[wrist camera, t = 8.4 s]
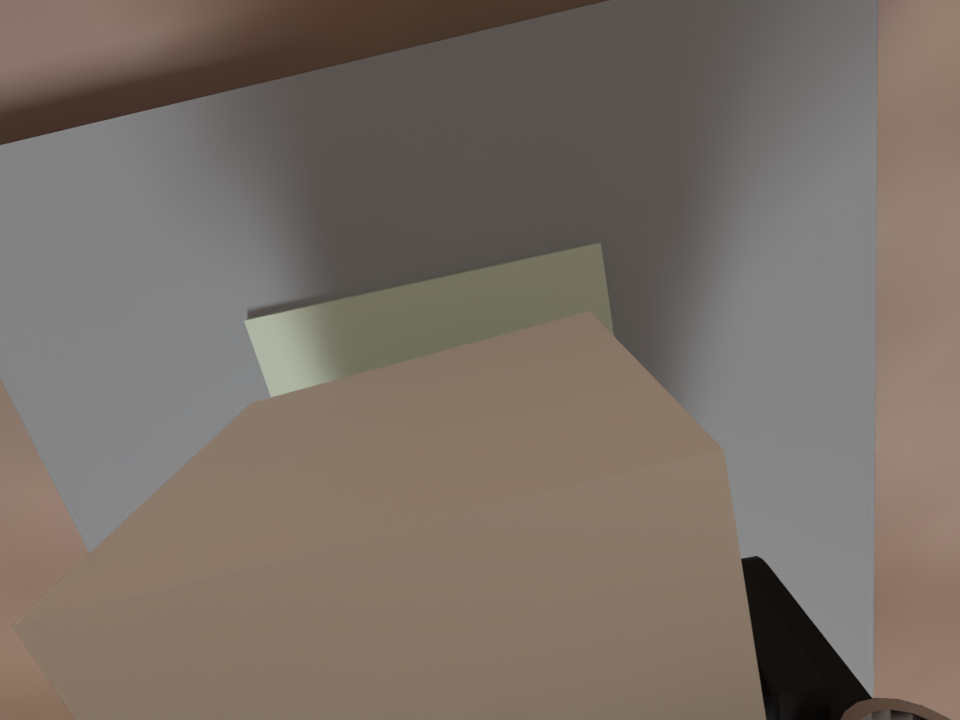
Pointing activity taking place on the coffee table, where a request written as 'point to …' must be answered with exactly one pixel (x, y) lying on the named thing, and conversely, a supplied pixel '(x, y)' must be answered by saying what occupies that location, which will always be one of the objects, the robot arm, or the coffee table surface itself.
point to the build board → (482, 253)
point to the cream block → (426, 555)
